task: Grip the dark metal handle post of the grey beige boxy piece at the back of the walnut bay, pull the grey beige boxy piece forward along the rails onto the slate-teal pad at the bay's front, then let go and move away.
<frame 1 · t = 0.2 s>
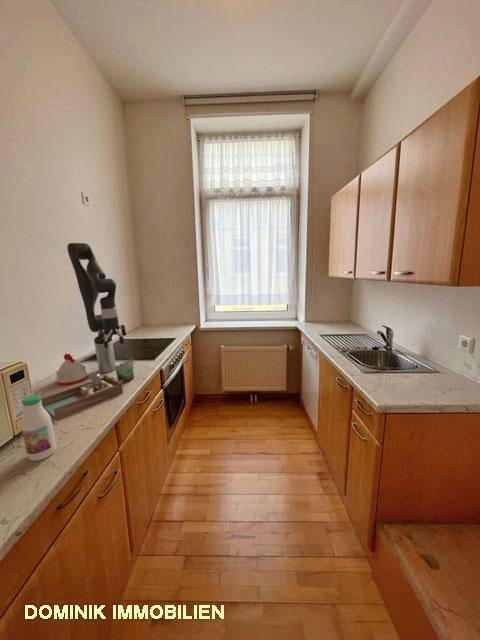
hand: (114, 345, 145), 17 cm above the worktop, tool pointing down, fingers open, 8 cm apart
kitchen timer: (72, 380, 145), on the worktop
grey beige boxy piece: (96, 383, 126), point 6 cm above the worktop, slide at 0.0 cm
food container: (129, 380, 143), on the worktop
milk bottle: (43, 454, 88), on the worktop
bay: (84, 400, 122), on the worktop
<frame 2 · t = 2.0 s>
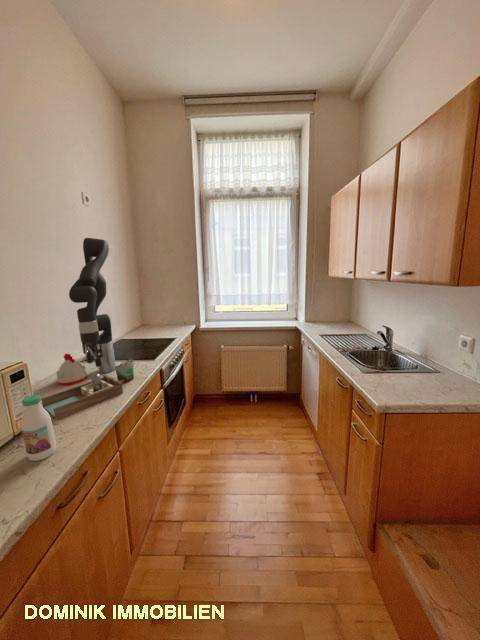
hand: (94, 364, 124), 15 cm above the worktop, tool pointing down, fingers open, 8 cm apart
nothing on the worktop moved.
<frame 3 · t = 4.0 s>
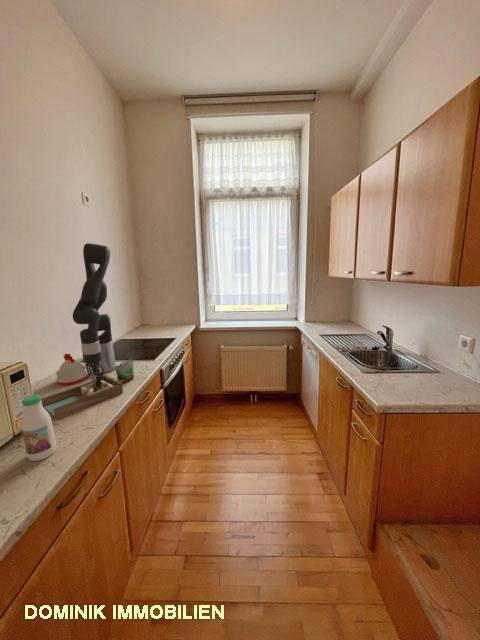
hand: (96, 385, 126), 5 cm above the worktop, tool pointing down, fingers closed on grey beige boxy piece, 3 cm apart
grey beige boxy piece: (96, 383, 126), point 6 cm above the worktop, slide at 0.0 cm, touching gripper
everything else where it was.
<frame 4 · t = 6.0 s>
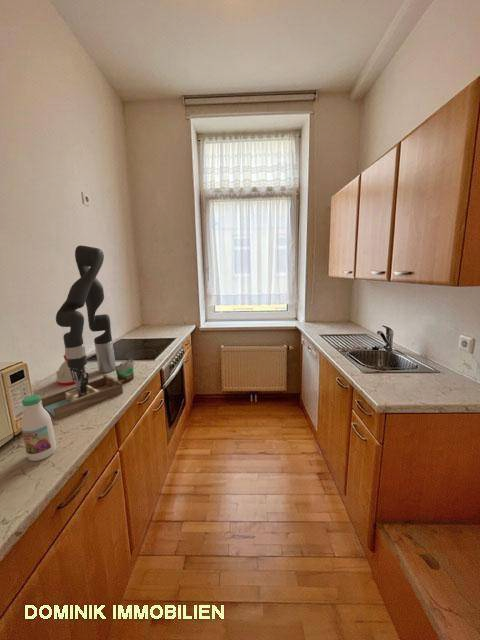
hand: (82, 391, 121), 5 cm above the worktop, tool pointing down, fingers closed on grey beige boxy piece, 3 cm apart
grey beige boxy piece: (81, 388, 121), point 6 cm above the worktop, slide at 6.6 cm, touching gripper
everything else where it was.
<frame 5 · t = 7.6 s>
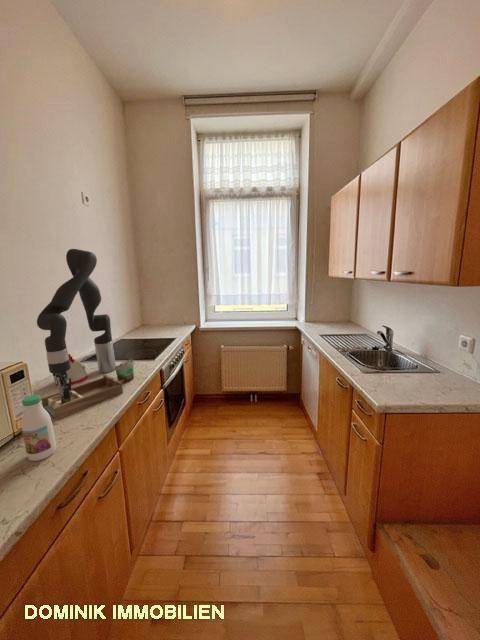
hand: (65, 397, 116), 5 cm above the worktop, tool pointing down, fingers closed on grey beige boxy piece, 3 cm apart
grey beige boxy piece: (64, 394, 115), point 6 cm above the worktop, slide at 13.4 cm, touching gripper
everything else where it was.
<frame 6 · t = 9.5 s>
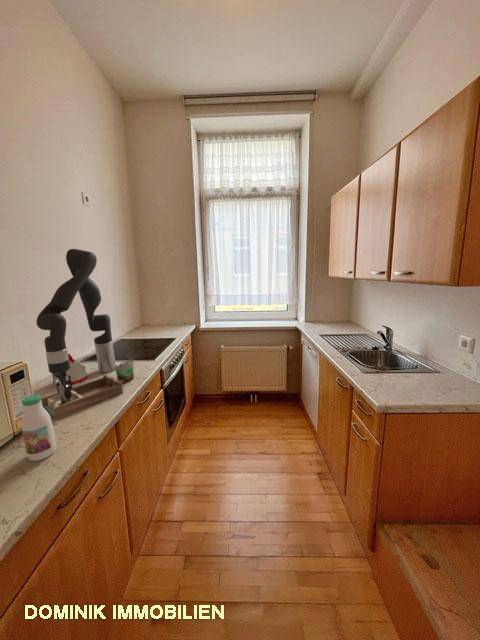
hand: (64, 395, 115), 6 cm above the worktop, tool pointing down, fingers open, 8 cm apart
grey beige boxy piece: (64, 394, 115), point 6 cm above the worktop, slide at 13.4 cm
everything else where it was.
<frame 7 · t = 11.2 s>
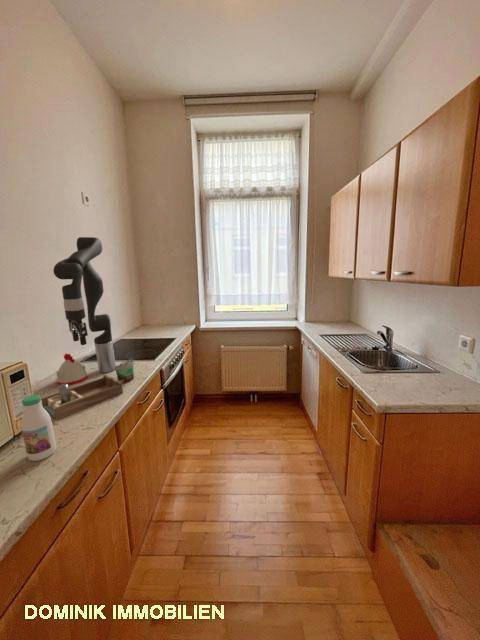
hand: (80, 342, 123), 26 cm above the worktop, tool pointing down, fingers open, 8 cm apart
nothing on the worktop moved.
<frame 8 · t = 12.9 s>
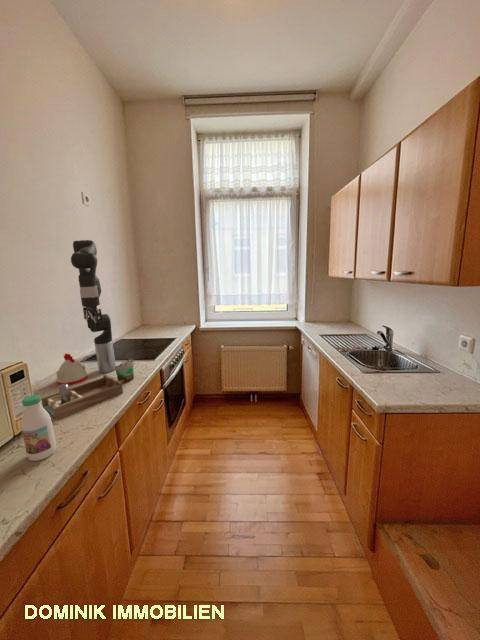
hand: (94, 329, 130), 30 cm above the worktop, tool pointing down, fingers open, 8 cm apart
nothing on the worktop moved.
at the end: grey beige boxy piece slide at 13.4 cm; the gripper is holding nothing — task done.
